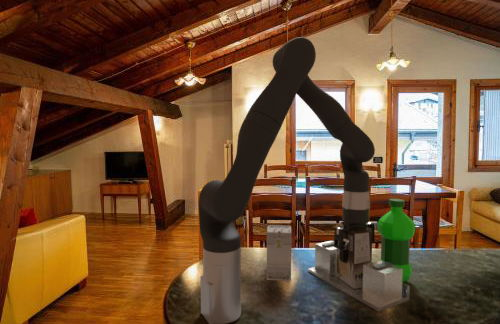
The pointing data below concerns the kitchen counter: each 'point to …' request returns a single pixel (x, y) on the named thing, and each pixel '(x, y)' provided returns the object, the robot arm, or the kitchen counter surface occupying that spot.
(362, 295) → the plate
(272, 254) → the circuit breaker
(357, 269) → the coffee box
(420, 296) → the kitchen counter surface
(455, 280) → the kitchen counter surface
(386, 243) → the plastic bottle
